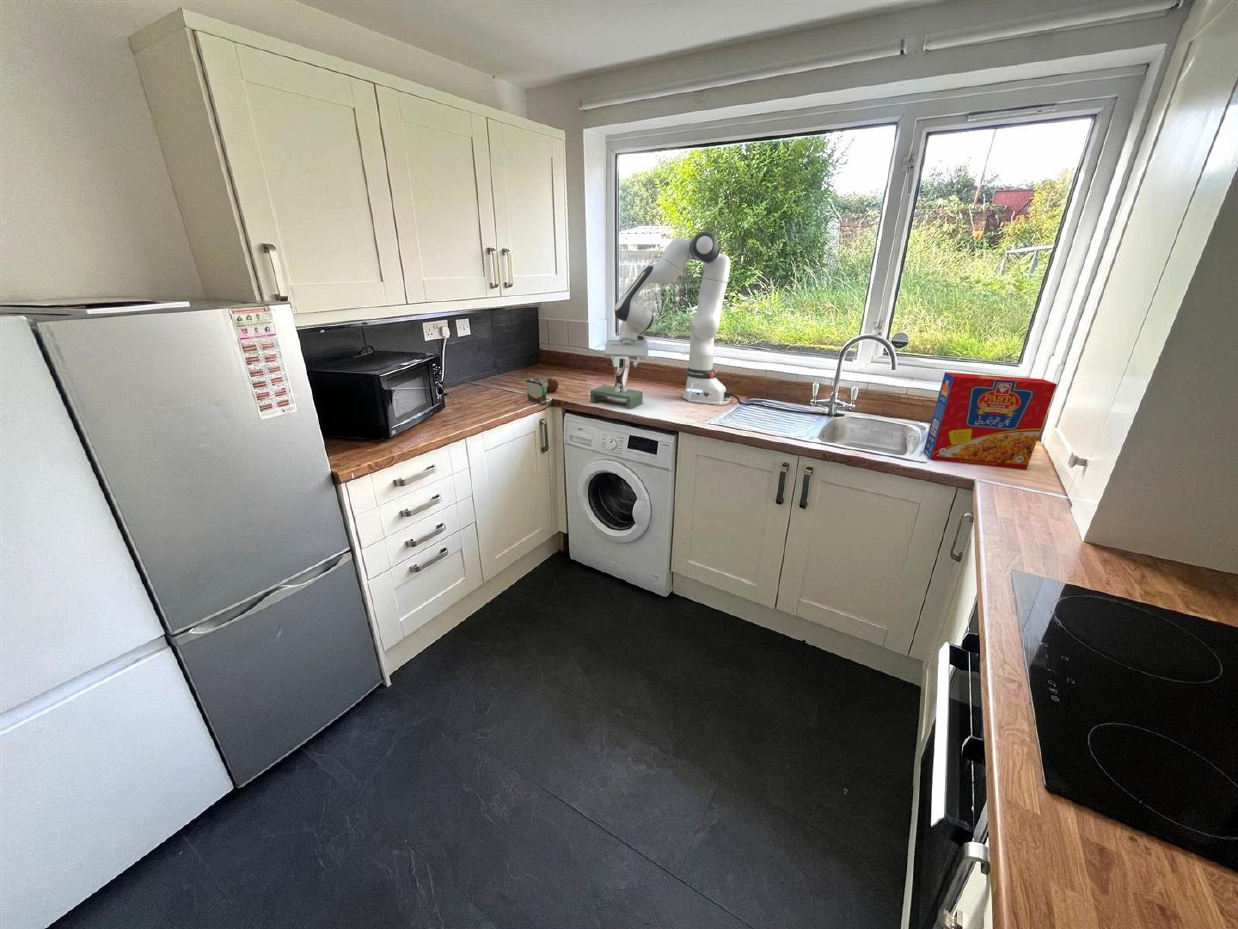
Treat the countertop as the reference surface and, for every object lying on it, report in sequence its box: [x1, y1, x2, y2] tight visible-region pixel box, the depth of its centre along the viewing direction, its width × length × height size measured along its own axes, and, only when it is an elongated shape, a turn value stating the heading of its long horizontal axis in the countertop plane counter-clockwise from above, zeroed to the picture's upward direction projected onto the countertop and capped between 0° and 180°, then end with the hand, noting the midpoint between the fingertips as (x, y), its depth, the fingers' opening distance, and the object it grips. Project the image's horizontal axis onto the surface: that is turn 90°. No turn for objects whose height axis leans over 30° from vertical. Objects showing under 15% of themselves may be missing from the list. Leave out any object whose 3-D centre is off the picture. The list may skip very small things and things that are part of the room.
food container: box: [525, 377, 548, 406], centre depth 218 cm, size 12×6×10 cm, turn 46°
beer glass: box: [612, 356, 630, 393], centre depth 218 cm, size 7×7×15 cm
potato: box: [545, 378, 559, 393], centre depth 238 cm, size 6×12×6 cm, turn 151°
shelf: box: [589, 385, 644, 410], centre depth 222 cm, size 20×12×6 cm, turn 61°
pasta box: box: [922, 371, 1058, 471], centre depth 162 cm, size 28×8×28 cm, turn 76°
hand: (624, 365), depth 225 cm, fingers open, 8 cm apart
